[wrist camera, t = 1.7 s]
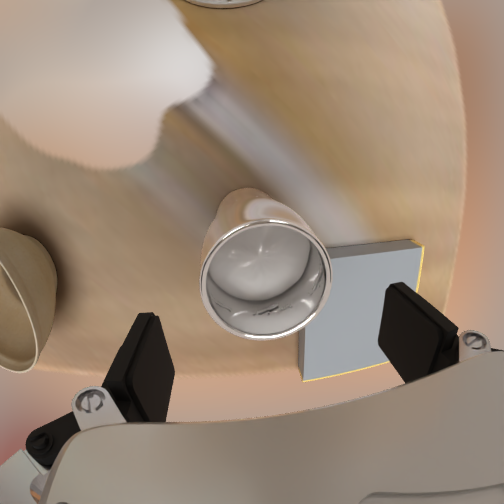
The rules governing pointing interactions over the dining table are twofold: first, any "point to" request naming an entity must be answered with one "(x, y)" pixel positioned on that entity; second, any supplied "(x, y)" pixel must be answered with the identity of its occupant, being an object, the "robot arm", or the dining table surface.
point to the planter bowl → (24, 300)
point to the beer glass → (262, 268)
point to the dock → (356, 307)
